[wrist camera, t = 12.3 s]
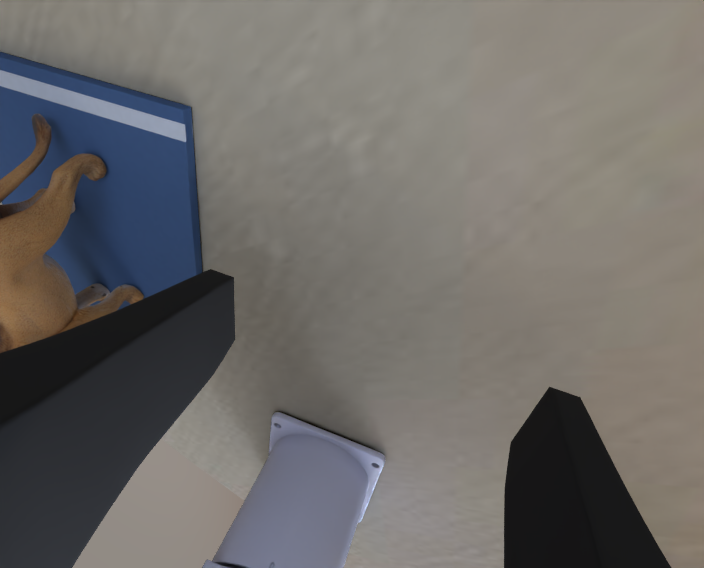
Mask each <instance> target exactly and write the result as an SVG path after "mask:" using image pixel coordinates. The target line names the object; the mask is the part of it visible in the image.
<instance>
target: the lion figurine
mask: <svg viewBox="0 0 704 568" xmlns="http://www.w3.org/2000/svg"><path fill="white" fill-rule="evenodd" d="M32 126H33V131H34V134H35V139H36V146H35V149H34V151H33V152H32V154H31V155H30V156H29V157H28V158H27V159H26V160H25V161H23V162H22V163H21V164H20V165H19V166H18V167H16V168H15V169H14V170H13V171H11V172H10V173H9V174H7V175H6V176H4V177H3V178H2V179H1V180H0V202H2V201H3V200H4V199H5V198H6V197H7V196H8V195H9V194H11V193H12V192H13V191H14V190H15V189H16V188H17V187H18V186H19V185H20V184H21V183H22V182H23V181H24V180H25V179H26V178H27V177H28V176H30V175H31V174H32V173H33V172H34V171H35V169H36V168H37V167H38V166H39V165H40V164H41V162H42V161H43V160H44V158H45V156H46V154H47V152H48V149H49V146H50V143H51V139H52V135H51V132H52V131H51V126H50V125H49V124H48V123H47V121H46V119H45V118H44V117H43V116H42V115H41V114H34V115H33V116H32ZM106 172H107V170H106V166H105V164H104V162H103V161H102V159H101V158H99V157H98V156H96V155H93V154H84V153H83V154H78V155H75V156H74V157H72V158H70V159H69V160H67V161H66V162H65V163H64V164H62V165H61V166H59V167H58V168H57V169H56V170H54V171H53V174H52V177H51V181H50V184H49V186H48V188H47V189H46V188H42V189H40V190H38V191H37V193H36V194H35V195H34V196H33V197H32V198H30V199H28V200H26V201H22V202H17V203H11V204H4V205H0V353H2V352H5V351H8V350H11V349H14V348H17V347H21V346H24V345H27V344H30V343H33V342H36V341H39V340H42V339H45V338H47V337H50V336H53V335H56V334H59V333H61V332H64V331H67V330H69V329H72V328H74V327H77V326H79V325H82V324H84V323H87V322H89V321H92V320H94V319H97V318H99V317H102V316H104V315H107V314H109V313H112V312H115V311H117V310H118V308H119V307H120V306H121V304H122V303H123V302H124V301H125V300H126V301H127V302H129V303H130V304H133V303H135V302H138V301H140V300H142V299H143V298H144V295H143V294H142V293H141V291H140V290H138V289H137V288H136V287H134V286H131V285H126V284H125V285H121V286H118V287H117V288H116V289H115V290H113V291H112V292H111V293H110V292H109V290H108V289H107V288H106V287H104V286H103V285H102V284H98V283H96V284H93V285H90V286H89V287H87V288H85V289H84V290H82V291H80V292H79V293H77V294H75V293H74V290H73V287H72V285H71V282H70V280H69V277H68V275H67V274H66V272H65V270H64V269H63V268H62V267H61V266H60V265H59V264H58V263H57V262H56V261H55V260H54V259H53V258H51V257H50V256H48V255H47V254H45V253H46V252H47V251H48V250H49V249H50V248H51V247H52V246H53V245H54V244H55V243H56V241H57V240H58V238H59V237H60V235H61V234H62V232H63V230H64V229H65V227H66V225H67V223H68V221H69V218H70V214H72V213H73V212H74V211H75V203H74V199H75V193H76V188H77V185H78V183H79V180H80V178H81V176H82V174H83V173H84V174H85V175H86V176H87V177H88V178H89V179H91V180H93V181H97V180H99V179H101V178H103V177H104V176H105V174H106ZM96 301H101V302H100V303H98V304H96V305H93V306H89V305H90V304H92V303H94V302H96Z"/></svg>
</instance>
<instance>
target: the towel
mask: <svg viewBox="0 0 704 568" xmlns="http://www.w3.org/2000/svg"><path fill="white" fill-rule="evenodd" d="M34 114H41V115H42V116H43V117H44V118H45V119H46V121H47V123H48V124H49V125H50V126H51V131H52V132H51V135H52V139H51V143H50V146H49V149H48V152H47V154H46V156H45V158H44V160H43V161H42V162H41V164H40V165H39V166H38V167H37V168H36V169H35V171H34V172H33V173H32V174H31V175H30V176H28V177H27V178H26V179H25V180H24V181H23V182H22V183H21V184H20V185H19V186H18V187H17V188H16V189H15V190H14V191H13V192H12V193H11V194H9V195H8V196H7V197H6V198H5V199H4V200H3V201H2V204H3V205H4V204H11V203H17V202H22V201H26V200H28V199H30V198H32V197H33V196H34V195H35V194H36V193H37V191H38V190H40V189H42V188H46V189H47V188H48V186H49V184H50V181H51V177H52V174H53V171H54V170H56V169H57V168H58V167H59V166H61V165H62V164H64V163H65V162H66V161H67V160H69V159H70V158H72V157H74V156H75V155H78V154H83V153H84V154H93V155H96V156H98V157H99V158H101V159H102V161H103V162H104V164H105V166H106V170H107V172H106V174H105V176H104V177H103V178H101V179H99V180H97V181H93V180H91V179H89V178H88V177H87V176H86V175H85V174H84V173H83V174H82V176H81V178H80V180H79V183H78V185H77V188H76V193H75V199H74V203H75V211H74V212H73V213H72V214H70V218H69V221H68V223H67V225H66V227H65V229H64V230H63V232H62V234H61V235H60V237H59V238H58V240H57V241H56V243H55V244H54V245H53V246H52V247H51V248H50V249H49V250H48V251H47V252H46V253H45V254H47V255H48V256H50V257H51V258H53V259H54V260H55V261H56V262H57V263H58V264H59V265H60V266H61V267H62V268H63V269H64V270H65V272H66V274H67V275H68V277H69V280H70V282H71V285H72V287H73V290H74V293H75V294H77V293H79V292H80V291H82V290H84V289H85V288H87V287H89V286H90V285H93V284H96V283H98V284H102V285H103V286H104V287H106V288H107V289H108V290H109V292H110V293H111V292H112V291H113V290H115V289H116V288H117V287H118V286H121V285H125V284H126V285H131V286H134V287H136V288H137V289H138V290H140V291H141V293H142V294H143V295H144V298H147V297H149V296H151V295H153V294H156V293H158V292H160V291H162V290H165V289H167V288H169V287H171V286H173V285H176V284H178V283H180V282H182V281H184V280H187V279H189V278H191V277H193V276H196V275H198V274H200V273H202V259H201V244H200V229H199V214H198V200H197V185H196V170H195V156H194V141H193V125H192V111H191V107H190V106H187V105H183V104H180V103H176V102H173V101H169V100H166V99H162V98H159V97H155V96H152V95H148V94H145V93H141V92H138V91H134V90H131V89H127V88H124V87H120V86H117V85H114V84H110V83H107V82H103V81H100V80H96V79H93V78H89V77H86V76H82V75H79V74H75V73H72V72H68V71H65V70H61V69H58V68H54V67H51V66H48V65H44V64H41V63H37V62H34V61H30V60H27V59H23V58H20V57H16V56H13V55H9V54H6V53H2V52H0V180H1V179H2V178H3V177H4V176H6V175H7V174H9V173H10V172H11V171H13V170H14V169H15V168H16V167H18V166H19V165H20V164H21V163H22V162H23V161H25V160H26V159H27V158H28V157H29V156H30V155H31V154H32V152H33V151H34V149H35V146H36V139H35V134H34V131H33V126H32V116H33V115H34ZM144 298H143V299H144ZM100 302H101V301H96V302H94V303H92V304H90V305H89V306H93V305H96V304H98V303H100ZM128 305H131V304H130V303H129V302H127V301H126V300H125V301H124V302H123V303H122V304H121V306H120V307H119V308H118V310H119V309H122V308H124V307H126V306H128Z"/></svg>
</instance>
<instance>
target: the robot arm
mask: <svg viewBox="0 0 704 568" xmlns="http://www.w3.org/2000/svg"><path fill="white" fill-rule="evenodd" d="M234 340H235V314H234V277H231V276H228V275H225V274H223V273H220V272H217V271H214V270H211V269H210V270H208V271H205V272H203V273H200V274H198V275H196V276H193V277H191V278H189V279H187V280H184V281H182V282H180V283H178V284H176V285H173V286H171V287H169V288H167V289H165V290H162V291H160V292H158V293H156V294H153V295H151V296H149V297H147V298H144V299H142V300H140V301H138V302H135V303H133V304H131V305H128V306H126V307H124V308H122V309H119V310H117V311H115V312H112V313H109V314H107V315H104V316H102V317H99V318H97V319H94V320H92V321H89V322H87V323H84V324H82V325H79V326H77V327H74V328H72V329H69V330H67V331H64V332H61V333H59V334H56V335H53V336H50V337H47V338H45V339H42V340H39V341H36V342H33V343H30V344H27V345H24V346H21V347H17V348H14V349H11V350H8V351H5V352H2V353H0V568H72V567H73V565H74V564H75V562H76V560H77V559H78V557H79V556H80V554H81V552H82V551H83V549H84V548H85V546H86V544H87V543H88V541H89V540H90V538H91V537H92V535H93V534H94V532H95V531H96V529H97V527H98V526H99V524H100V523H101V521H102V520H103V518H104V517H105V515H106V514H107V512H108V511H109V509H110V508H111V506H112V505H113V503H114V502H115V500H116V499H117V497H118V496H119V494H120V493H121V491H122V490H123V488H124V487H125V485H126V484H127V483H128V481H129V480H130V478H131V477H132V475H133V474H134V472H135V471H136V469H137V468H138V467H139V465H140V464H141V463H142V461H143V460H144V459H145V457H146V456H147V455H148V454H149V452H150V451H151V450H152V449H153V447H154V446H155V445H156V444H157V442H158V441H159V440H160V439H161V438H162V437H163V435H164V434H165V433H166V432H167V430H168V429H169V428H170V427H171V426H172V424H173V423H174V422H175V421H176V420H177V418H178V417H179V416H180V415H181V413H182V412H183V411H184V410H185V409H186V407H187V406H188V405H189V404H190V403H191V401H192V400H193V399H194V398H195V396H196V395H197V394H198V393H199V392H200V390H201V389H202V388H203V387H204V385H205V384H206V383H207V382H208V380H209V379H210V378H211V377H212V375H213V374H214V372H215V371H216V369H217V368H218V366H219V365H220V363H221V362H222V360H223V359H224V357H225V355H226V354H227V352H228V350H229V349H230V347H231V345H232V344H233V342H234ZM384 463H385V456H384V455H383V454H382V453H380V452H378V451H375V450H373V449H370V448H368V447H365V446H363V445H360V444H358V443H355V442H353V441H350V440H348V439H345V438H343V437H340V436H338V435H335V434H333V433H330V432H328V431H325V430H323V429H320V428H318V427H315V426H313V425H310V424H308V423H305V422H303V421H300V420H298V419H295V418H293V417H290V416H288V415H285V414H283V413H280V412H275V413H274V414H273V416H272V419H271V431H270V444H269V457H268V459H267V460H266V462H265V464H264V466H263V468H262V470H261V472H260V473H259V475H258V477H257V479H256V481H255V483H254V484H253V486H252V488H251V490H250V492H249V494H248V496H247V497H246V499H245V501H244V503H243V505H242V507H241V508H240V510H239V512H238V514H237V516H236V518H235V520H234V521H233V523H232V525H231V527H230V529H229V531H228V532H227V534H226V536H225V538H224V540H223V542H222V544H221V545H220V547H219V549H218V551H217V553H216V555H215V556H214V558H213V560H212V561H210V560H206V561H205V563H204V565H203V567H202V568H344V564H345V561H346V558H347V555H348V552H349V548H350V545H351V542H352V539H353V535H354V532H355V529H356V526H357V523H359V522H361V520H362V518H363V515H364V513H365V510H366V508H367V505H368V503H369V500H370V498H371V495H372V493H373V490H374V488H375V485H376V483H377V480H378V478H379V476H380V473H381V471H382V468H383V466H384ZM504 568H671V567H670V565H669V563H668V561H667V560H666V558H665V556H664V555H663V553H662V551H661V550H660V548H659V546H658V545H657V543H656V541H655V540H654V538H653V536H652V534H651V532H650V531H649V529H648V527H647V525H646V524H645V522H644V520H643V518H642V516H641V515H640V513H639V511H638V509H637V507H636V505H635V504H634V502H633V500H632V498H631V496H630V494H629V492H628V491H627V489H626V487H625V485H624V483H623V481H622V479H621V477H620V475H619V473H618V471H617V470H616V468H615V466H614V464H613V462H612V460H611V458H610V456H609V454H608V452H607V450H606V448H605V446H604V444H603V442H602V440H601V438H600V436H599V434H598V432H597V430H596V428H595V426H594V424H593V422H592V420H591V418H590V416H589V414H588V412H587V410H586V408H585V406H584V404H583V402H582V400H581V398H580V397H577V396H575V395H572V394H569V393H566V392H563V391H560V390H557V389H554V388H551V387H549V388H548V390H547V391H546V393H545V394H544V395H543V397H542V398H541V400H540V401H539V403H538V404H537V406H536V407H535V408H534V410H533V411H532V413H531V414H530V416H529V417H528V418H527V420H526V421H525V423H524V424H523V426H522V427H521V429H520V430H519V431H518V433H517V434H516V436H515V437H514V439H513V440H512V441H511V445H510V452H509V459H508V466H507V474H506V483H505V508H504Z"/></svg>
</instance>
